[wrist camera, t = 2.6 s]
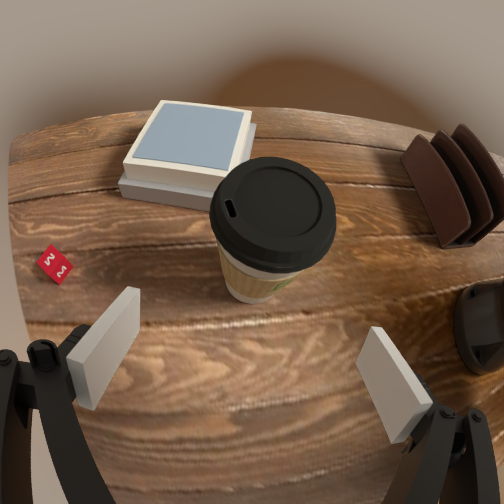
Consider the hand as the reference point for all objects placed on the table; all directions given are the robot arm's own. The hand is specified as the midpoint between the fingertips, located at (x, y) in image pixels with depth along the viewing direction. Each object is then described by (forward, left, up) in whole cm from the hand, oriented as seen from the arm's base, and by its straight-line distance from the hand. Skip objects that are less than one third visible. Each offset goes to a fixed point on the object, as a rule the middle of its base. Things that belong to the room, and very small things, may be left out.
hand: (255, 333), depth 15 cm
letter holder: (-33, -31, -16) cm, 48 cm away
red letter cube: (+23, -6, -16) cm, 29 cm away
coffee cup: (-1, -10, -16) cm, 18 cm away
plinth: (+10, -26, -16) cm, 32 cm away
